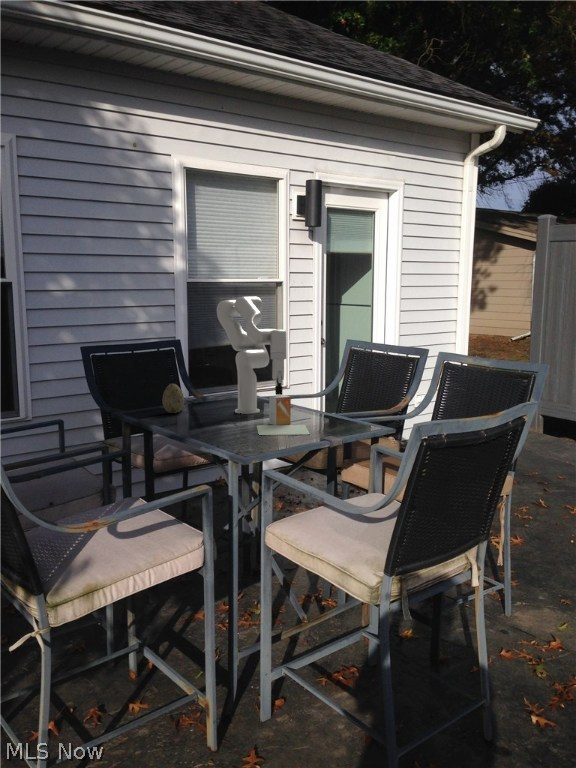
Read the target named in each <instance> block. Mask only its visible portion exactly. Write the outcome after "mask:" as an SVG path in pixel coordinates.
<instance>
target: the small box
mask: <svg viewBox="0 0 576 768" xmlns="http://www.w3.org/2000/svg"><path fill="white" fill-rule="evenodd" d="M291 398H292V397H291V396H289V395H286V394H282V395H269V398H268V399H269V400H268V402H269V403H268V405H269V406H268V418H269V421H268V424H269V425H291V416H292V415H291V414H292V413H291V409H292V407H291V406H292V403H291V402H292V399H291Z"/></svg>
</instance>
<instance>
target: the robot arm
mask: <svg viewBox="0 0 576 768" xmlns="http://www.w3.org/2000/svg"><path fill="white" fill-rule="evenodd" d="M263 309H264V303H263V301H262V299H261V298H260V297H258V296H240V297H238V298H236V299H226V300H222V301H220V302H219V303H218V304H217V306H216V316H217V319H218V321H219V323H220V325H221V327H222V328H223V329H224V331H225V333H226V335H227V338H228V340H229V343H230V345H231V347H232V349H233V350H235V351H236V352H237V353H236V355H235V364H236V371H237V408H236V409H234V412H235V414H240V413H241V414H242V415H251V414H254V415H255V414H258V413H260V412H261V410H260V409H259V408H257V407H258V394H257V393H258V391H257V390H258V389H257V387H258V383H257V382H258V379H257V375H256V373H255V371H254V369H261V368H265V367H267V366H268V365H269V364H270V360H272V365H271V366H272V369H271V370H272V374H271V375H272V378H271V379H273V381H275V390H274V391H275V396H277V395H283V381H284V380H285V379H284V378H285V360H287V357H288V356H287V331H286V330H285V329H276V328H260V329H259V328H258V327H257V325H259V324H260V323H261V321H262V319H263V314H262V313H261V312H262V311H263ZM234 317H241V318H242V319H243V320H244V322H245V330H244V329H243V327H242V325H241V323H240V322H239V321H238V320H237V319H235V318H234ZM266 345H269V346H270V356H269V352H268V350H267V348H266ZM241 414H240V415H241Z"/></svg>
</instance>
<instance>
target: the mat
mask: <svg viewBox="0 0 576 768" xmlns="http://www.w3.org/2000/svg"><path fill="white" fill-rule="evenodd" d="M256 431H257V434H259V435H271V436H310V435H311V433H310V431H309V430H308V428H307V426H306V424H286V425H272V424H269V425H267V424H265V425H256ZM309 434H310V435H309ZM259 435H258V436H259Z"/></svg>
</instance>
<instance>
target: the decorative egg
mask: <svg viewBox="0 0 576 768" xmlns="http://www.w3.org/2000/svg"><path fill="white" fill-rule="evenodd" d="M161 400H162V401H161V402H162V405H163V409H164V410H165V411H166V412H167V413H170V414H172V413H175V414H177V412H178V413H179V412H181V411H182V409H183V408H184V404H185V396H184V393H183V391H182V389H181V387H179V386H178V385H177V384H176V383H169V384H168V385H167V386H166V388H165V390H164V391H163V394H162V399H161Z"/></svg>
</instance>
